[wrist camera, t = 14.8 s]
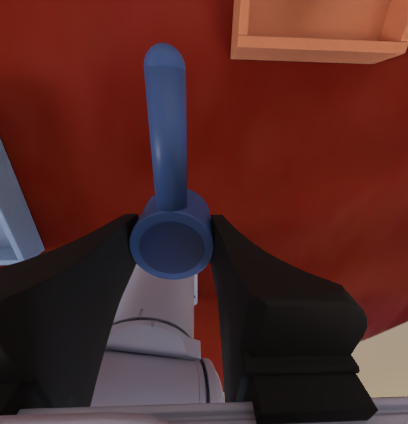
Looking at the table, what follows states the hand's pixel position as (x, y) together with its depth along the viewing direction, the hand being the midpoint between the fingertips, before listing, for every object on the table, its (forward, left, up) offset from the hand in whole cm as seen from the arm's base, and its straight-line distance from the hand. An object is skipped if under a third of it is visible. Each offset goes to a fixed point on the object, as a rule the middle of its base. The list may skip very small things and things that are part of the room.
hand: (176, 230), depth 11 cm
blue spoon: (+3, 0, -1) cm, 3 cm away
